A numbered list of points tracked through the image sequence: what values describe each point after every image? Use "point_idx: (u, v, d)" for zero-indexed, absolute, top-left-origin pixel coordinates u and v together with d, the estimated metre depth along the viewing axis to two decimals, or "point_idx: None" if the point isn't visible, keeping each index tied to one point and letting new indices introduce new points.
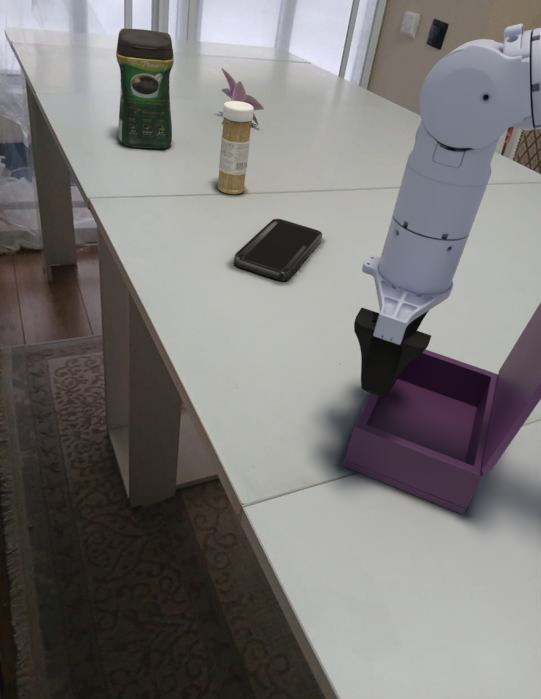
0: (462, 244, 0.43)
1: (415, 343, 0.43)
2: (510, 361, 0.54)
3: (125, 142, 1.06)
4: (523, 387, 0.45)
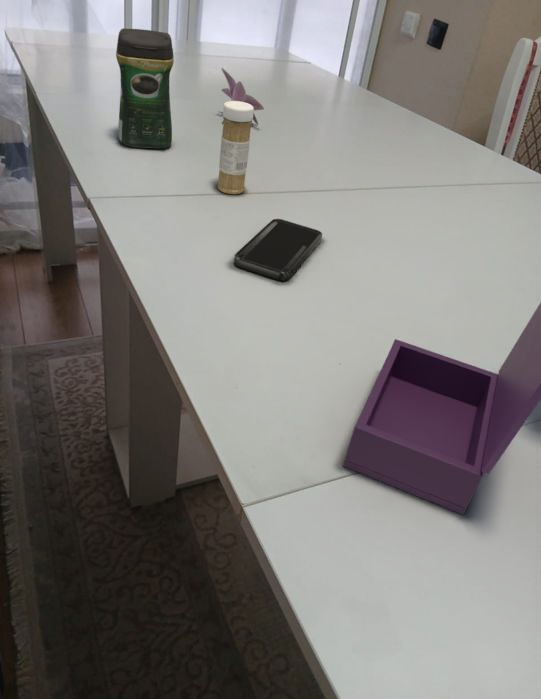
0: None
1: None
2: (510, 361, 0.54)
3: (125, 142, 1.06)
4: (523, 387, 0.45)
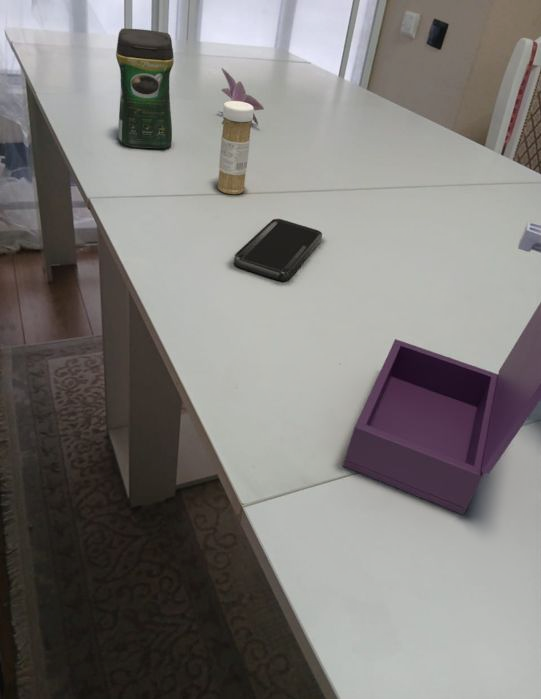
0: None
1: None
2: (510, 361, 0.54)
3: (125, 142, 1.06)
4: (523, 387, 0.45)
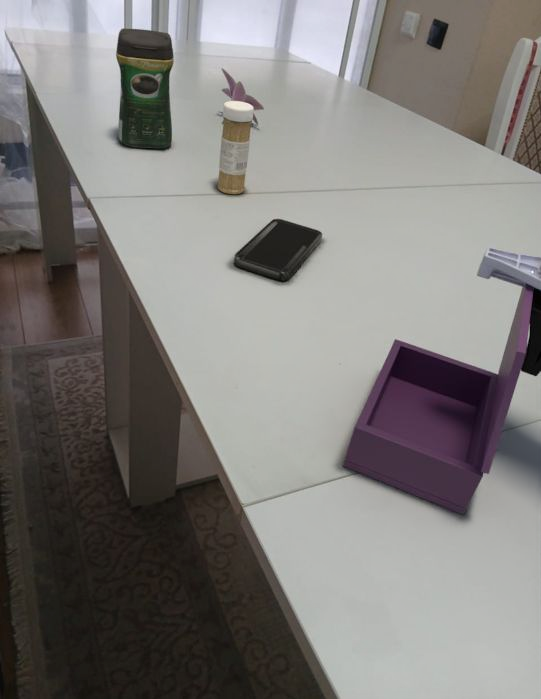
0: None
1: (536, 305, 0.48)
2: (503, 359, 0.54)
3: (125, 142, 1.06)
4: (504, 381, 0.45)
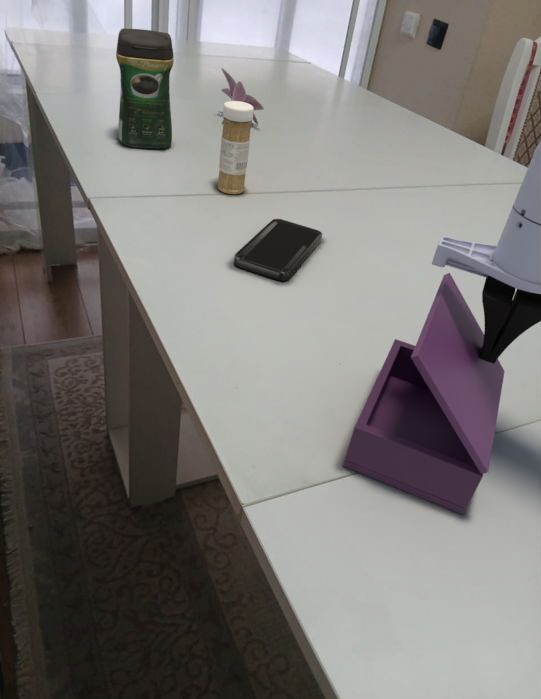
0: (532, 230, 0.44)
1: (489, 292, 0.48)
2: None
3: (125, 142, 1.06)
4: None
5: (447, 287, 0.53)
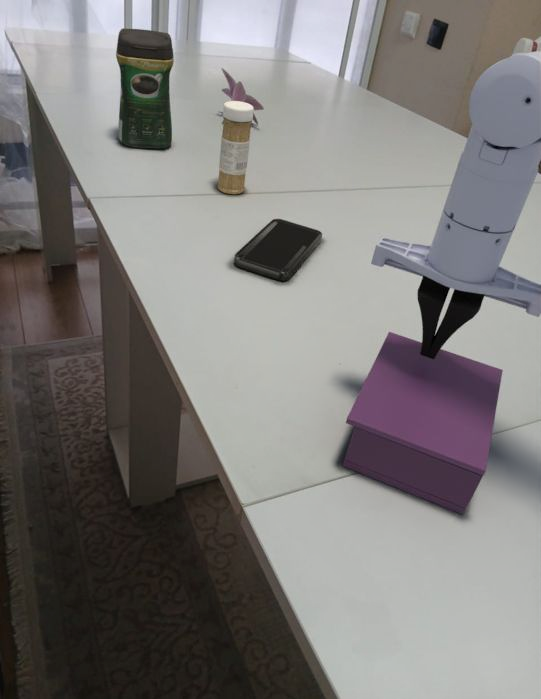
0: (459, 231, 0.46)
1: (423, 290, 0.51)
2: None
3: (125, 142, 1.06)
4: None
5: (386, 344, 0.58)
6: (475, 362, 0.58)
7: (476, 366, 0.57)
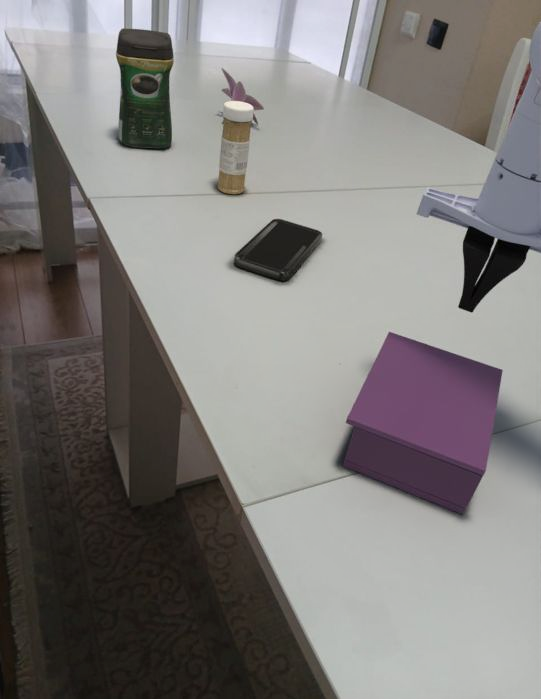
0: (512, 180, 0.46)
1: (469, 242, 0.51)
2: None
3: (125, 142, 1.06)
4: None
5: (386, 344, 0.58)
6: (475, 362, 0.58)
7: (476, 366, 0.57)
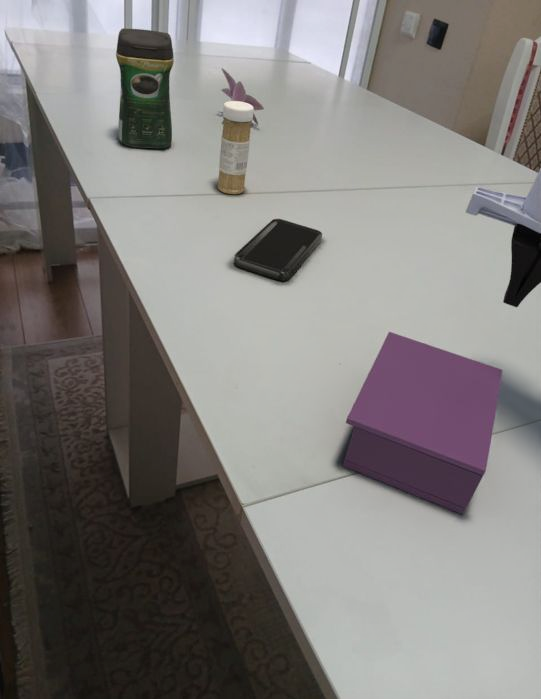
0: None
1: (517, 239, 0.53)
2: None
3: (125, 142, 1.06)
4: None
5: (386, 344, 0.58)
6: (475, 362, 0.58)
7: (476, 366, 0.57)
